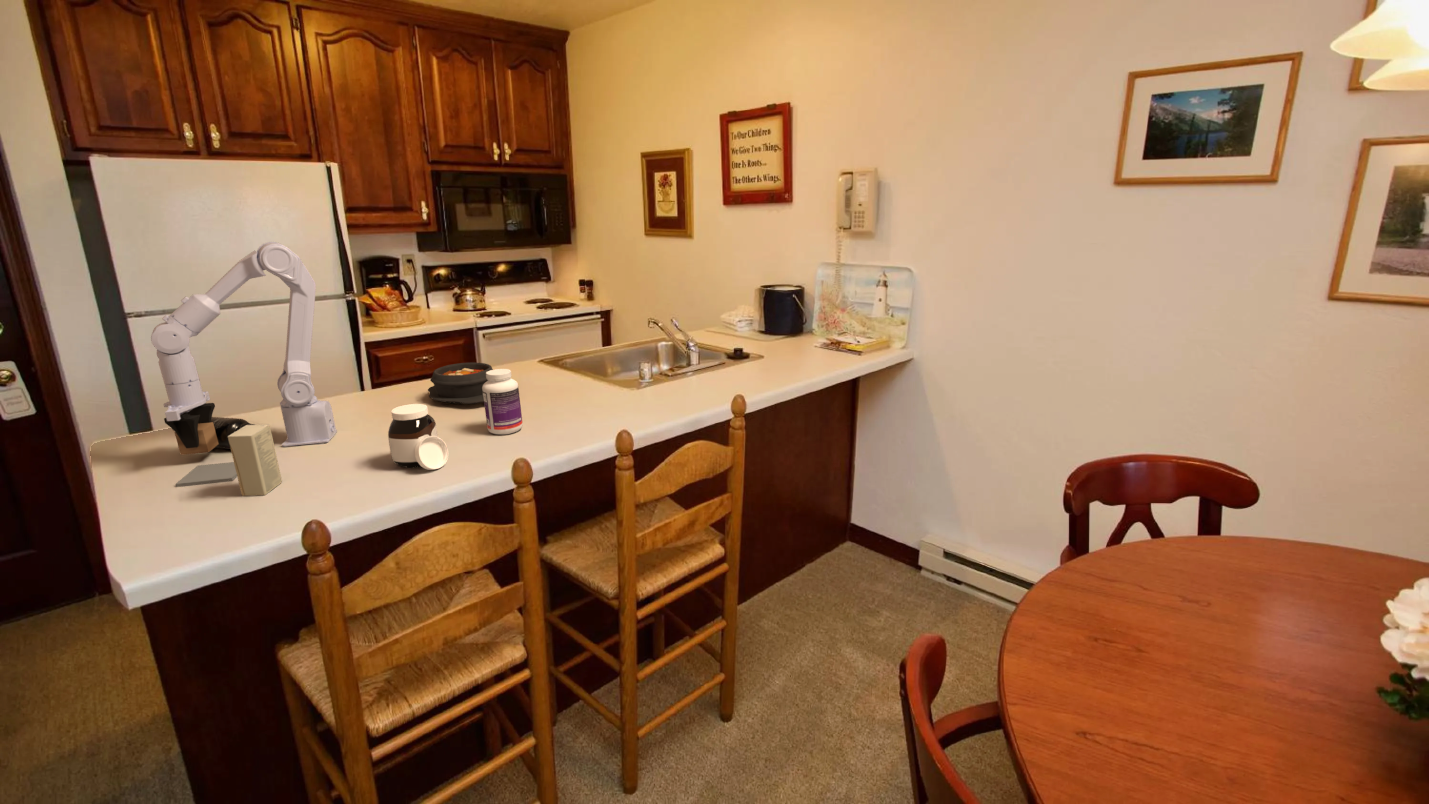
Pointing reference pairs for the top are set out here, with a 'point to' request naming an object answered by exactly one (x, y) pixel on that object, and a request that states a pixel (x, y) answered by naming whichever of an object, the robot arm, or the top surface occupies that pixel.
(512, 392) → the pill bottle
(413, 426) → the spread jar
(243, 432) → the skincare box
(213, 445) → the walnut cube
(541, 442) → the top surface
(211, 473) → the slate mat
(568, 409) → the top surface
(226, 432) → the supplement bottle
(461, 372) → the casserole
